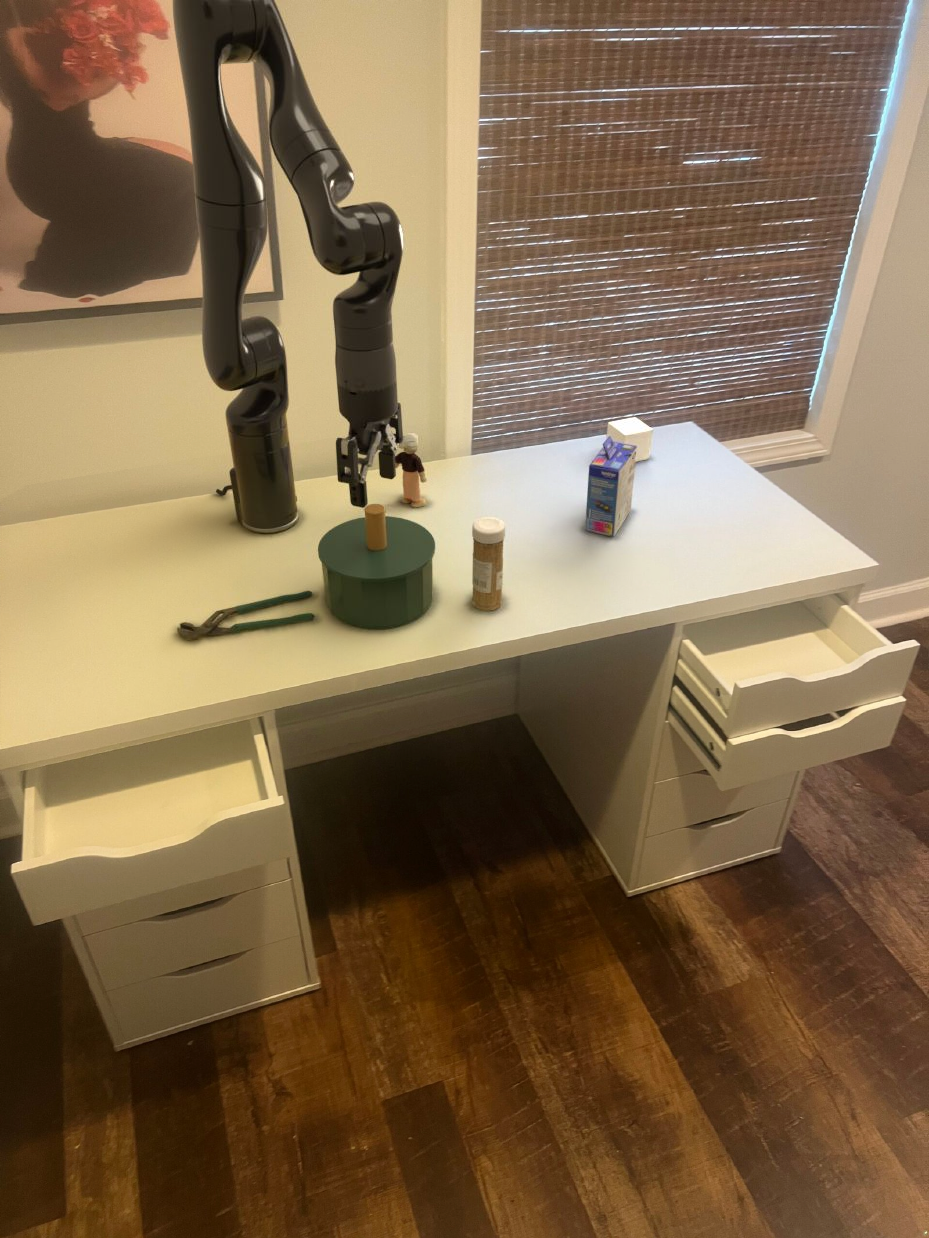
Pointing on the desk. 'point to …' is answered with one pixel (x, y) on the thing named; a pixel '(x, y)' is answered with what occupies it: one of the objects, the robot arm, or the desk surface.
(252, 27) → the robot arm
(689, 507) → the desk surface
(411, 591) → the tin
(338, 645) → the desk surface
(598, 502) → the ink cartridge box
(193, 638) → the pliers
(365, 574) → the tin lid
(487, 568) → the sprinkles bottle
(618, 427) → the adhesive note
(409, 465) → the grandmother figurine
